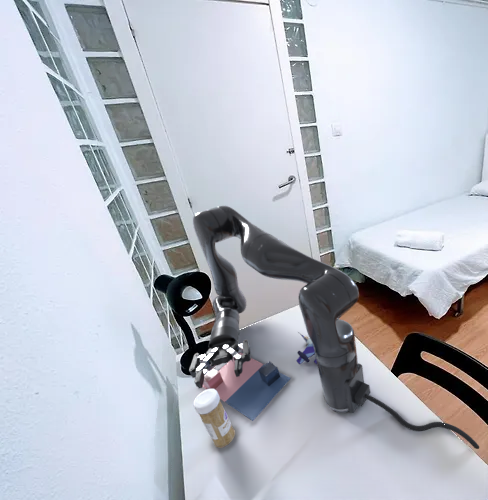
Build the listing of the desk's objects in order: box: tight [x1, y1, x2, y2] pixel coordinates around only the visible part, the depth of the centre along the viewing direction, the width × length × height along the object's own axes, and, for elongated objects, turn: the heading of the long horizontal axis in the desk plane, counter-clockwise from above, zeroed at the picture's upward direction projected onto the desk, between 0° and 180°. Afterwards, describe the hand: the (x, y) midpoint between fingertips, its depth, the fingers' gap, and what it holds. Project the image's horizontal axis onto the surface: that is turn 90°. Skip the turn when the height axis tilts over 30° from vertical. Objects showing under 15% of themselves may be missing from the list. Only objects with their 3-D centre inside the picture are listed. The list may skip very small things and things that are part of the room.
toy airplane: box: [295, 331, 317, 365], centre depth 81 cm, size 13×14×4 cm
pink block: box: [203, 367, 223, 389], centre depth 74 cm, size 4×4×4 cm
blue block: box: [258, 360, 280, 386], centre depth 73 cm, size 4×4×4 cm
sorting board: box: [202, 351, 291, 422], centre depth 74 cm, size 21×13×1 cm, turn 58°
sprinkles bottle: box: [193, 389, 236, 449], centre depth 59 cm, size 5×5×14 cm
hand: (218, 379), depth 66 cm, fingers open, 8 cm apart
